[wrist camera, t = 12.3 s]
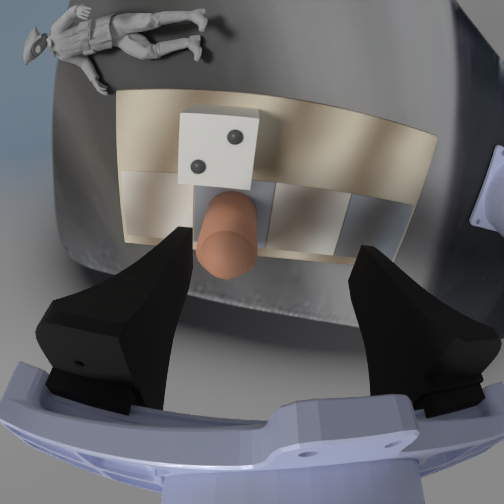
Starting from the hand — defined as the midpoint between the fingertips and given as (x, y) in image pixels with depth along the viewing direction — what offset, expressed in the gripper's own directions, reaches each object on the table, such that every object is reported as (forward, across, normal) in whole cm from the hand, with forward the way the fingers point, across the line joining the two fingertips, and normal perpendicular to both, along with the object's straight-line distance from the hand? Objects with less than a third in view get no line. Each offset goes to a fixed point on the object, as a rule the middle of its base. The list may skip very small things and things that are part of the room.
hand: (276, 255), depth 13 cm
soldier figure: (+10, +11, -10) cm, 18 cm away
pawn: (+9, +2, +3) cm, 10 cm away
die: (+9, +3, -3) cm, 10 cm away
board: (+10, 0, 0) cm, 10 cm away
